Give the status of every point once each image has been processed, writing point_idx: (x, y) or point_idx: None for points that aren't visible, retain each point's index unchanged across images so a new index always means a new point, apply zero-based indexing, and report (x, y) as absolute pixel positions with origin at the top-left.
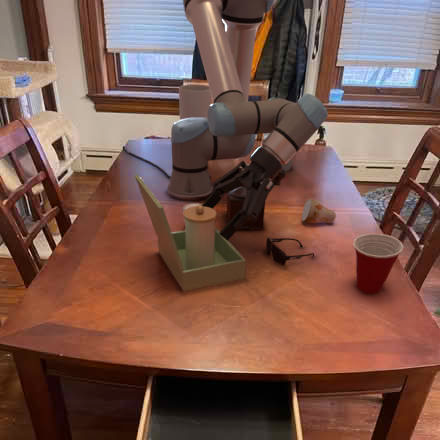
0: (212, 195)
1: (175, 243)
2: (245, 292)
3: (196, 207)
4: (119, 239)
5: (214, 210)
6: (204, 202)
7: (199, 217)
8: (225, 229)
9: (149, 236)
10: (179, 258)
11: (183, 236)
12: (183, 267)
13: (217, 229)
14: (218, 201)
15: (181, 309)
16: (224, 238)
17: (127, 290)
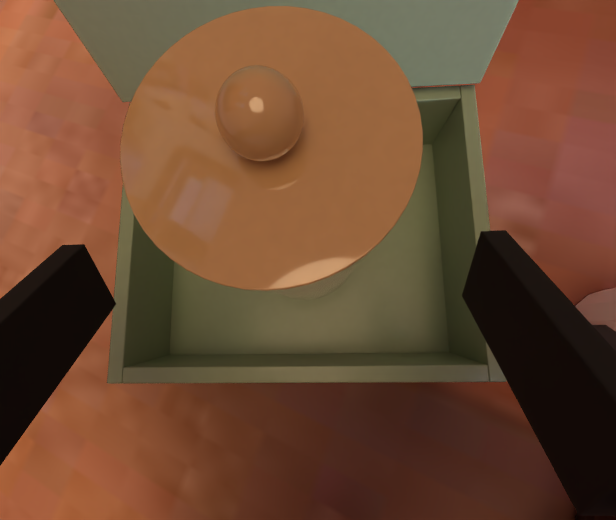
0: (596, 380)
1: (446, 182)
2: (102, 336)
3: (260, 65)
4: (595, 36)
5: (273, 284)
6: (548, 285)
7: (182, 106)
8: (26, 280)
9: (596, 140)
10: (80, 36)
11: (461, 209)
12: (113, 88)
13: (450, 379)
14: (543, 439)
15: (109, 126)
16: (338, 373)
17: None
